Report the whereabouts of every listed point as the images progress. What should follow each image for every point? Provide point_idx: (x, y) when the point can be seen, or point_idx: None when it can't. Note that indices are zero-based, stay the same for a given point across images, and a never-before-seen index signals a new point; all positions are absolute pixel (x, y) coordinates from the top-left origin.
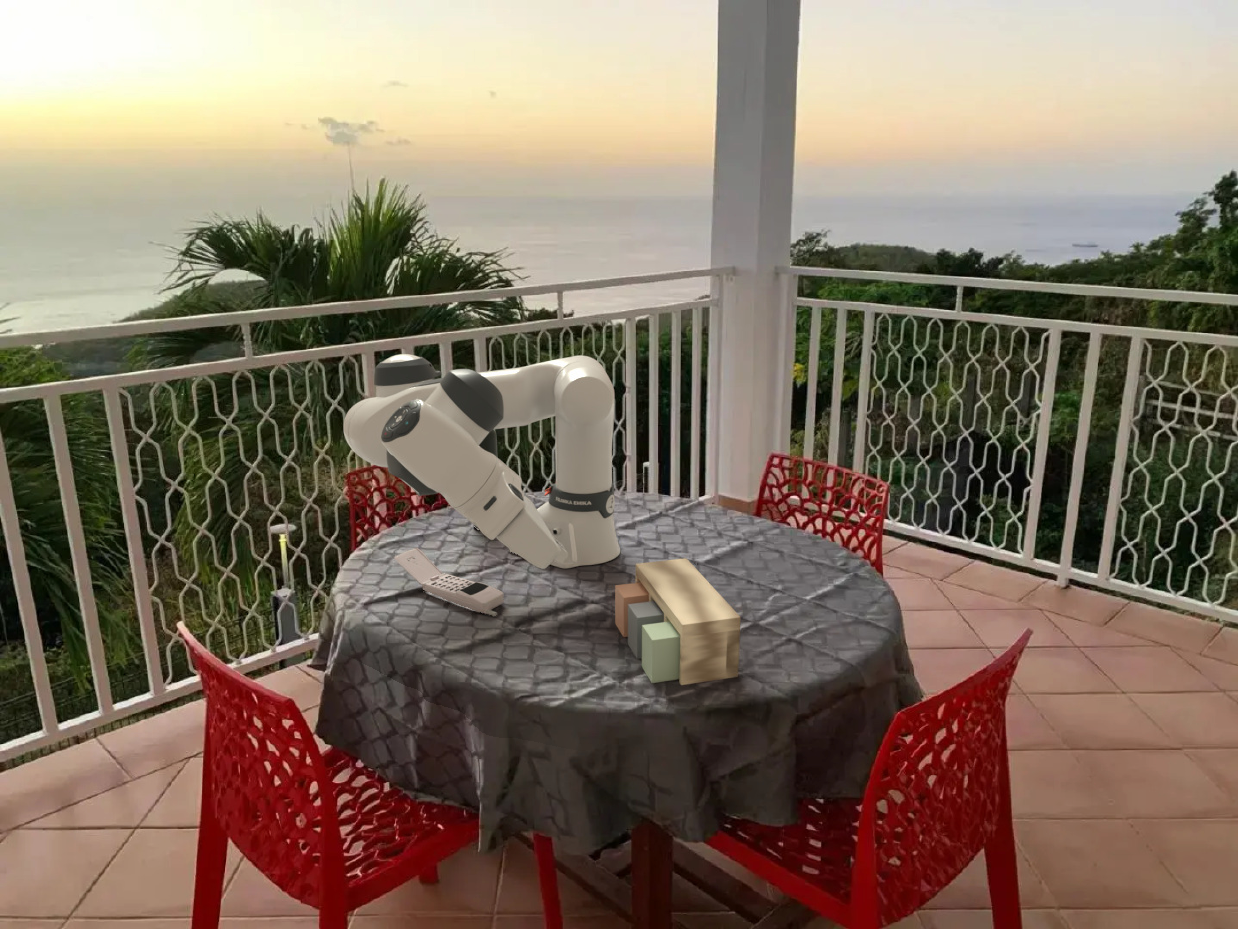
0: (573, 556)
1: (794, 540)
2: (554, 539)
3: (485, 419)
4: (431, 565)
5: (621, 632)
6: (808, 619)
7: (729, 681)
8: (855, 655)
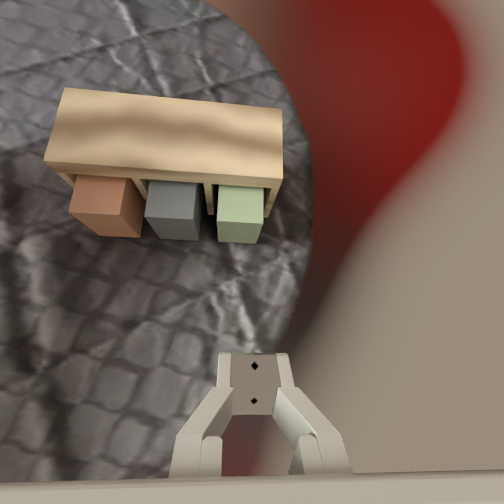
0: None
1: None
2: (498, 485)
3: None
4: None
5: (129, 236)
6: (180, 56)
7: None
8: (260, 59)
